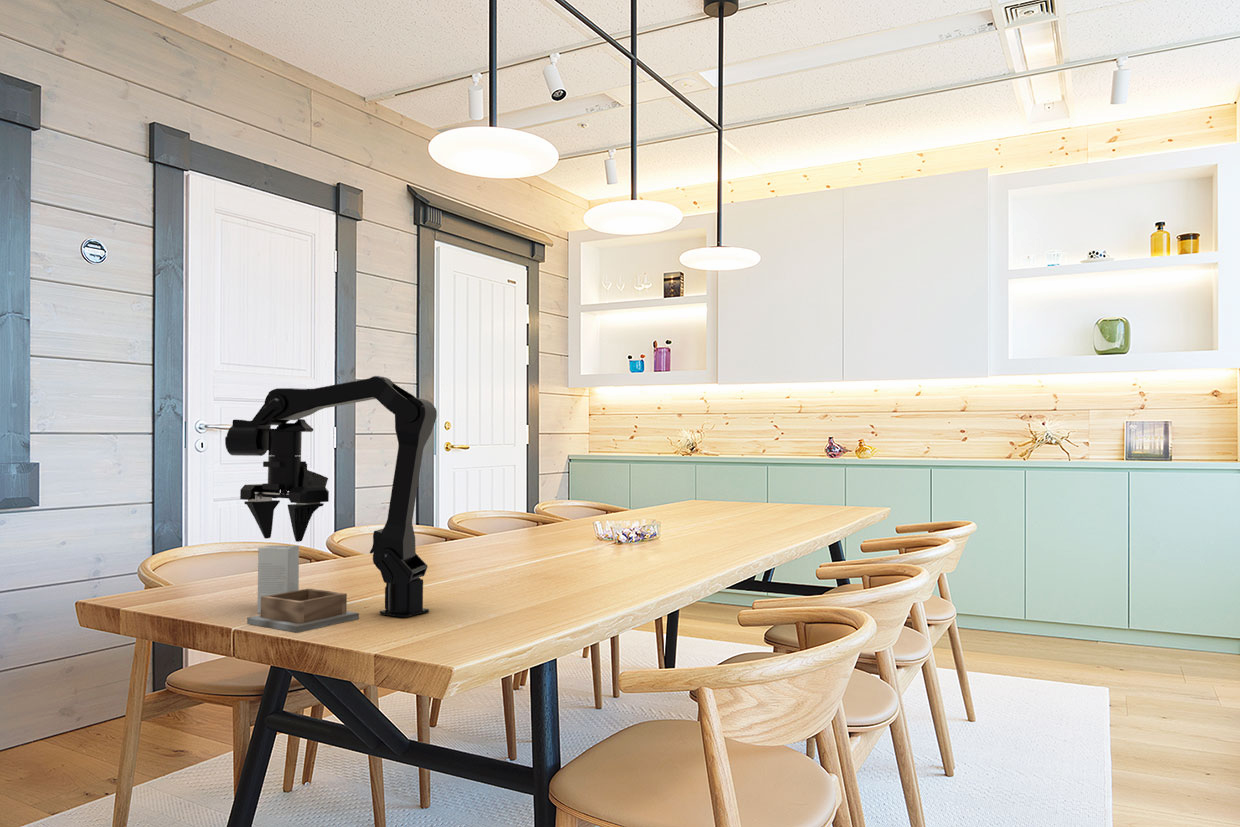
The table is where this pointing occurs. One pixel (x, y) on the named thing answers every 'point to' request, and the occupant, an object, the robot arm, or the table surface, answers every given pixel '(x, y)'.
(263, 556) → the skincare box
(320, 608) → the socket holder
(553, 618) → the table surface
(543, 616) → the table surface
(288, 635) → the table surface
